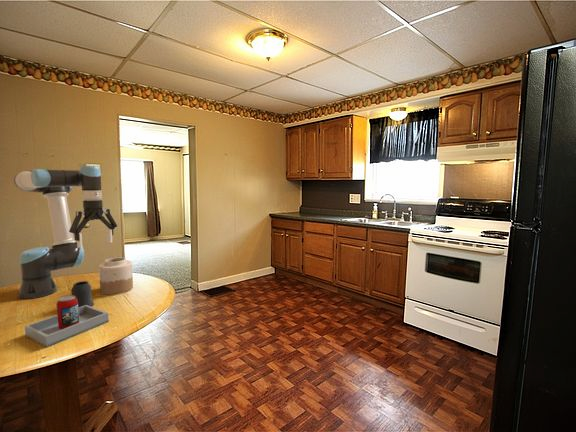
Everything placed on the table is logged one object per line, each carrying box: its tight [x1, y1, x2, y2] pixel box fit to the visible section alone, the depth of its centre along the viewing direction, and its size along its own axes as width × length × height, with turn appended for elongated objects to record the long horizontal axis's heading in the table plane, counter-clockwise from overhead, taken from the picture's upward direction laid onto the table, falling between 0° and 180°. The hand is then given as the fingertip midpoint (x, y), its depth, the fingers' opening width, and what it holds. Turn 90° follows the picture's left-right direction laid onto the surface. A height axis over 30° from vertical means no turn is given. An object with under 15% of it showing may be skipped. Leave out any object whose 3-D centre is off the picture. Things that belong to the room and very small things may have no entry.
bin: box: [24, 305, 110, 348], centre depth 119 cm, size 16×22×4 cm
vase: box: [98, 256, 134, 296], centre depth 160 cm, size 15×15×17 cm
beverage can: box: [56, 294, 79, 329], centre depth 118 cm, size 7×7×12 cm
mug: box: [70, 280, 95, 308], centre depth 140 cm, size 12×9×11 cm
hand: (95, 244), depth 139 cm, fingers open, 13 cm apart
